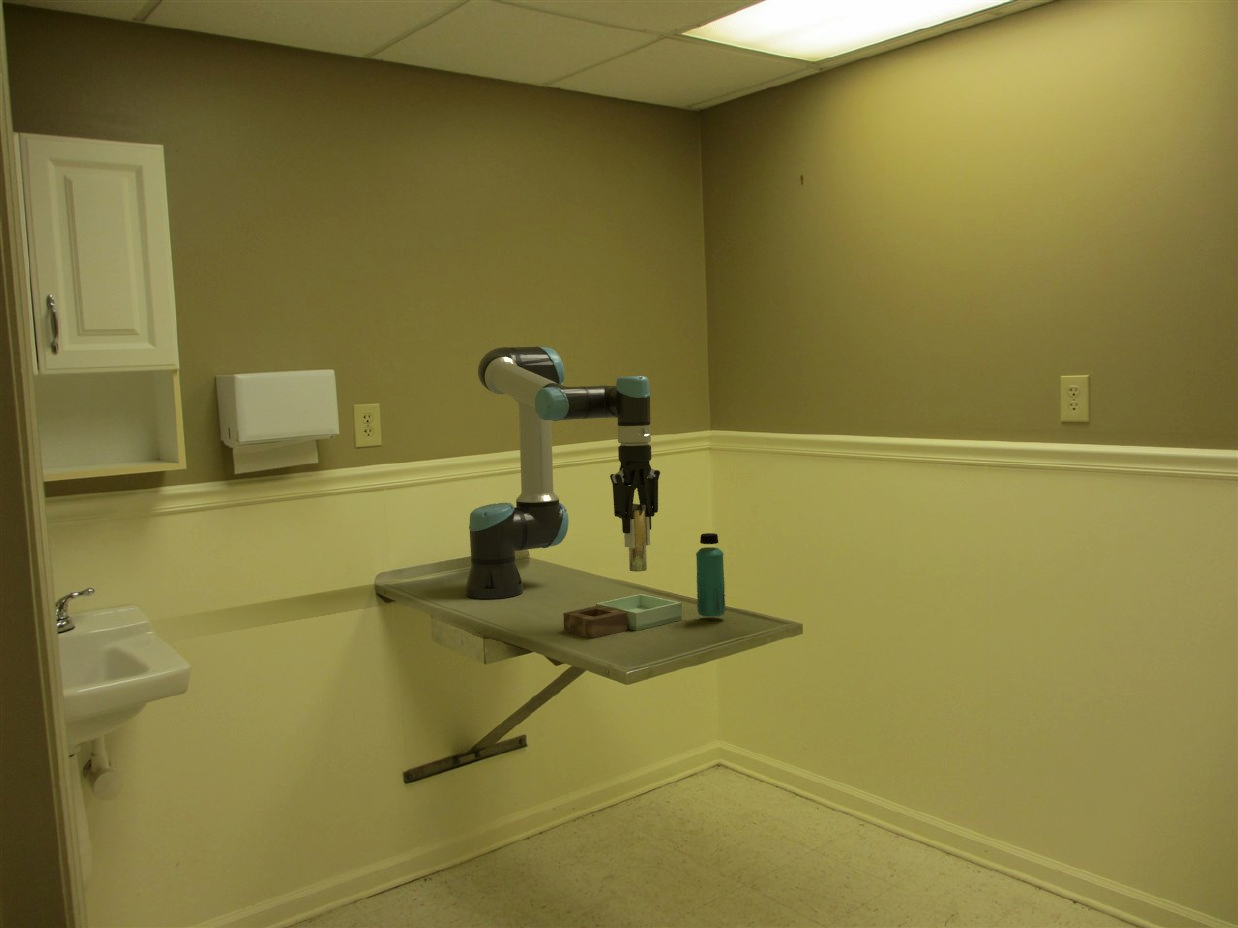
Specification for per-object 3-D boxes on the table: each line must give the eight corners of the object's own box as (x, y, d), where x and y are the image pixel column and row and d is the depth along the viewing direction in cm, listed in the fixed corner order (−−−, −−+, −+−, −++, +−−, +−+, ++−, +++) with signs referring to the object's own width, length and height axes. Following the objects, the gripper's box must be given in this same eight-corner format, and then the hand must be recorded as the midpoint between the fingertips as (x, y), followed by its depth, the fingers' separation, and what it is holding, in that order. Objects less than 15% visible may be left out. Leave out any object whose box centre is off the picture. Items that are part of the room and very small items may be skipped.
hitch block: (564, 630, 222) (563, 612, 222) (598, 622, 229) (598, 605, 228) (592, 638, 215) (591, 620, 214) (627, 630, 221) (626, 612, 221)
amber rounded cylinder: (624, 569, 230) (622, 504, 229) (637, 567, 232) (635, 502, 231) (639, 572, 226) (637, 505, 225) (652, 569, 228) (650, 504, 227)
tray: (596, 620, 231) (595, 603, 231) (641, 610, 240) (640, 593, 240) (636, 630, 220) (636, 612, 220) (681, 619, 229) (681, 602, 229)
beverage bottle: (728, 622, 226) (726, 535, 224) (699, 623, 225) (697, 536, 223) (722, 615, 232) (721, 530, 230) (694, 617, 232) (692, 531, 230)
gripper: (617, 447, 218) (620, 552, 220) (673, 442, 230) (675, 542, 231) (595, 446, 224) (598, 548, 226) (650, 441, 235) (653, 539, 237)
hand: (637, 545), depth 229 cm, fingers closed on amber rounded cylinder, 4 cm apart
